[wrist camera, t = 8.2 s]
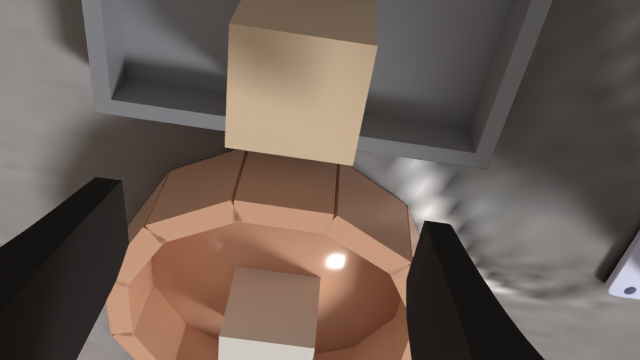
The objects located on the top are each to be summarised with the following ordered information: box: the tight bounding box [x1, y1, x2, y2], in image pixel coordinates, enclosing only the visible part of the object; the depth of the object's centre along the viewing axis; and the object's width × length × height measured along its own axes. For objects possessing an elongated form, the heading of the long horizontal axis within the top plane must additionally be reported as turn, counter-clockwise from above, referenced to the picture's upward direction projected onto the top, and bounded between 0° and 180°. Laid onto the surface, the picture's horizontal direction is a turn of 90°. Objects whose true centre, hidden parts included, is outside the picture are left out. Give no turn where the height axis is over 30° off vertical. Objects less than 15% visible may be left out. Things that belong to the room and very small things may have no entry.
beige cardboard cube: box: [225, 0, 378, 166], centre depth 18 cm, size 4×4×4 cm
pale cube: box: [218, 266, 321, 360], centre depth 26 cm, size 4×4×4 cm
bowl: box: [106, 149, 420, 360], centre depth 26 cm, size 14×14×4 cm
